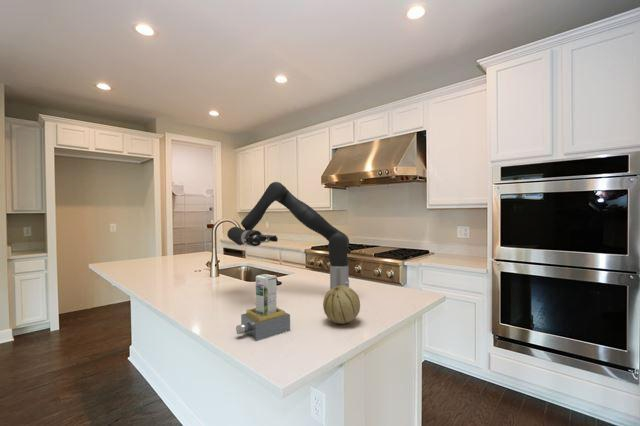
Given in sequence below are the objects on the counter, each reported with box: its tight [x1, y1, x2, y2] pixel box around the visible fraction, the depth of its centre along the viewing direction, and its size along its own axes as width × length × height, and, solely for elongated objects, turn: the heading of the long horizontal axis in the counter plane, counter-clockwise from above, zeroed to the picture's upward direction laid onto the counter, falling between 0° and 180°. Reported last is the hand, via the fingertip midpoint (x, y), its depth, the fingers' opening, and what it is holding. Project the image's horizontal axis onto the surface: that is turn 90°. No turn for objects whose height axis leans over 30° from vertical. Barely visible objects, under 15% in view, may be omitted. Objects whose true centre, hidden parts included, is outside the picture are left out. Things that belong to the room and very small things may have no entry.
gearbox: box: [235, 306, 291, 342], centre depth 113 cm, size 18×12×8 cm, turn 129°
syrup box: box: [255, 273, 277, 316], centre depth 115 cm, size 6×6×14 cm
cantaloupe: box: [322, 286, 361, 325], centre depth 122 cm, size 15×15×15 cm
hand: (268, 240), depth 135 cm, fingers open, 8 cm apart
